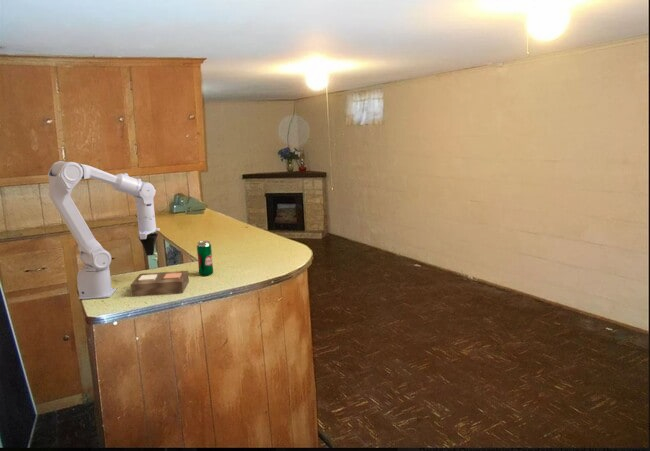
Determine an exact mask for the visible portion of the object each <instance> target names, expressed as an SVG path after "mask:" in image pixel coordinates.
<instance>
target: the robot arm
mask: <svg viewBox="0 0 650 451" xmlns="http://www.w3.org/2000/svg"><path fill="white" fill-rule="evenodd" d="M47 176H48V196H49V199H50V200H51V202H52V203H53V205H54V207H55V209H56V210H57V212H58V214H59V216H60V217H61V219H62V220H63V221H64V223H65V225H66V226H67V228H68V230H69V231H70V234H71V236H72V237H73V238H74V240H75V242H76V243H77V244H78V245H77V250H78V252H79V253H80V254H79V255H80V256H79V257H80V261H81V262H82V263H83V264H84V268H83V269H79V270H78V272H77V275H76V282H77V289H78V290H77V291H78V300H88V299H89V300H90V299H103V298H105V299H106V298H110V297H111V296H112V295H113V294H114V293H115V292H116V290H117V288H112V279H111V272H110V265H111V262H112V255H111V253H110V252H109V251H108V250H106V249H104V248H103V245H101V244H100V242H98V240H96V238H95V236H94V234H93V233H92V231H91V229H90V228H89V226H88V224H87V223H86V221H85V219H84V217H83V216H82V214H81V213H80V211H79V209H78V207H77V205H76V204H75V202H74V201H73V199H72V197H71V194H72V192H73V189H74V187H75V186H76V185H77V184H78V183H79V182H80V181H81V180H86V179H87V180H88V179H92V180H94V181H98V182H102V183H106V184H109V185H111V187H112V188H113V190H114V191H117V192H120V193H124V194H126V195H129V196H132V197H134V198H135V207H136V208H135V209H136V217H137V226H138V231H137V232H138V234H139V236H138V240H139V241H140V243H141V244H142V246H143V248H144V252H145V254H146V256H147V257H148V256H153V255H154V253H155V246H156V241H157V238H158V232H159V231H161V228H160V227H157V222H156V215H155V214H156V213H155V202H154V200H155V199H154V197H155V196H156V192H157V190H156V189H155V187H154V185H153V184H152V183H150V182H147V181H142V179H141V178H135V177H132V176H129V173H127V172H123V173H122V172H121V173H117V174H115V175H114V174H112V173H109V172H107V171H104V170H103V169H102V170H101V169H99V168H97V167H93V166H91V165H88V164H82V163H77V162H75V161H63V160H59V161H56V162H54V163H53V164H52V165H51V167H50V169H49V170H48V173H47Z"/></svg>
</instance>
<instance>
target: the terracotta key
mask: <svg viewBox="0 0 650 451" xmlns="http://www.w3.org/2000/svg"><path fill="white" fill-rule="evenodd" d="M181 276H182V273H172V274H166V275H165V277H164V278H163V280H166V279H180V277H181Z"/></svg>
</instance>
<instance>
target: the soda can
mask: <svg viewBox="0 0 650 451" xmlns="http://www.w3.org/2000/svg"><path fill="white" fill-rule="evenodd" d="M212 251H213V250H212V244H211V241H209V240H200V241H198V242H197V245H196V252H197V253H196V254H197V264H198V274H199V275H200V276H201V277H207V276H212V275H213V274H214V265H213V252H212Z"/></svg>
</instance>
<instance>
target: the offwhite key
mask: <svg viewBox="0 0 650 451" xmlns="http://www.w3.org/2000/svg"><path fill="white" fill-rule="evenodd" d="M156 278H157V274H156V275H142V276H141V277H140V278H139V279H138V281H150V280H155V279H156Z"/></svg>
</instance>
